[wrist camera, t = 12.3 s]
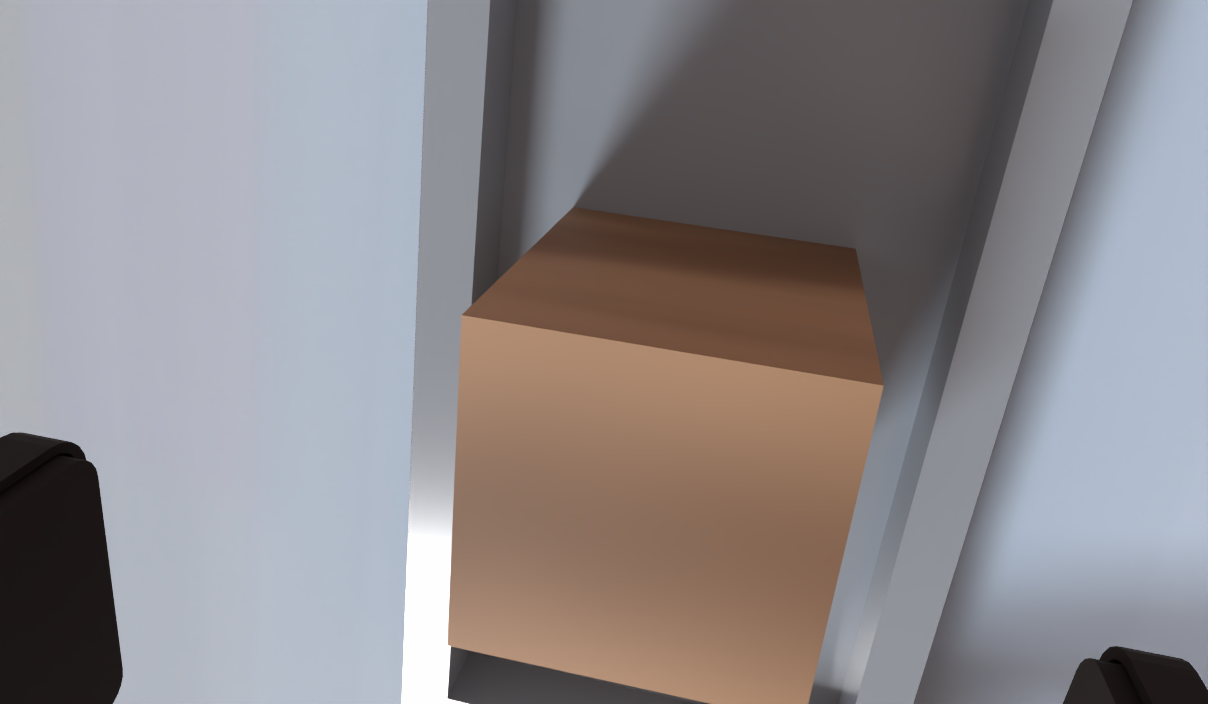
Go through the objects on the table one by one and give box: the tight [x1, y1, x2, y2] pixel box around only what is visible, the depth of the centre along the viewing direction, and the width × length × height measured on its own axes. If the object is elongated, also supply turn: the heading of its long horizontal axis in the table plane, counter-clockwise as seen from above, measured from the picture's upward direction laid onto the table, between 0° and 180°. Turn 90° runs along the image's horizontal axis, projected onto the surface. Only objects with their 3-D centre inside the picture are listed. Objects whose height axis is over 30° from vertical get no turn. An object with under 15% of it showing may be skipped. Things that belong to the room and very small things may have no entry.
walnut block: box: [447, 207, 884, 704], centre depth 15 cm, size 5×5×6 cm
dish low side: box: [402, 0, 1133, 704], centre depth 17 cm, size 18×10×2 cm, turn 173°
